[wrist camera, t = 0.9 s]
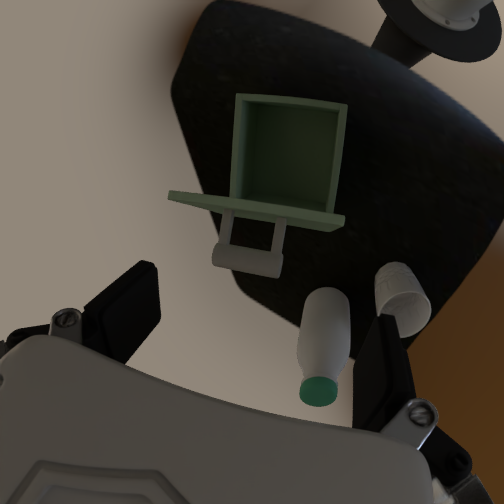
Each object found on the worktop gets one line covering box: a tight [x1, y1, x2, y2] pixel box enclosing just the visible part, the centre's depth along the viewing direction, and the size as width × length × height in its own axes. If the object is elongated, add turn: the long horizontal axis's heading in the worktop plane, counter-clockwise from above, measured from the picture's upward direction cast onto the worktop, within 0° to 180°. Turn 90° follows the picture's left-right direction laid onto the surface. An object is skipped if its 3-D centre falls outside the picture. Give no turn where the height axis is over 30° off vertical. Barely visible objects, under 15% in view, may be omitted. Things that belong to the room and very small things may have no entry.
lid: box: [168, 191, 345, 278], centre depth 27 cm, size 15×13×5 cm
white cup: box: [374, 262, 431, 338], centre depth 38 cm, size 8×8×10 cm
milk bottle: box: [297, 287, 350, 407], centre depth 39 cm, size 8×8×20 cm
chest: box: [230, 94, 348, 214], centre depth 35 cm, size 15×13×9 cm
